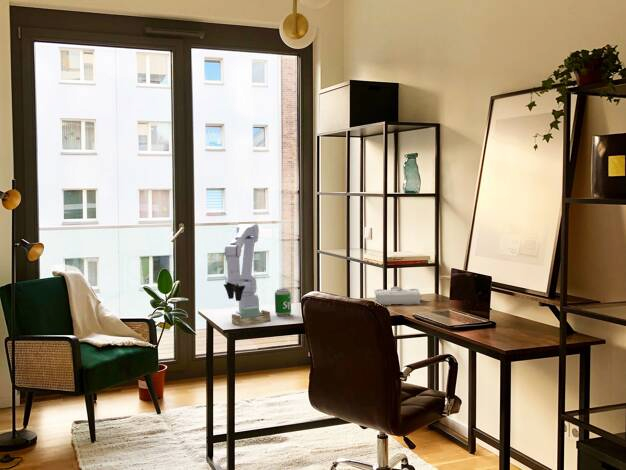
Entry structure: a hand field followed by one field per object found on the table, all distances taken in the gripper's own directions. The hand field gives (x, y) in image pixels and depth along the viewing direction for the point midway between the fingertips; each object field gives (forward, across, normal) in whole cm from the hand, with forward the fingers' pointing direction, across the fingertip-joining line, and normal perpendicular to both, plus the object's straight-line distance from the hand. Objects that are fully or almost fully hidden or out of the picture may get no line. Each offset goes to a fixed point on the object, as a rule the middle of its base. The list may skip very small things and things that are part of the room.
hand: (234, 299), depth 330 cm
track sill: (+9, +10, +3) cm, 14 cm away
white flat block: (+10, +16, +87) cm, 89 cm away
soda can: (+10, +5, +23) cm, 25 cm away
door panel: (+9, +10, +3) cm, 13 cm away
